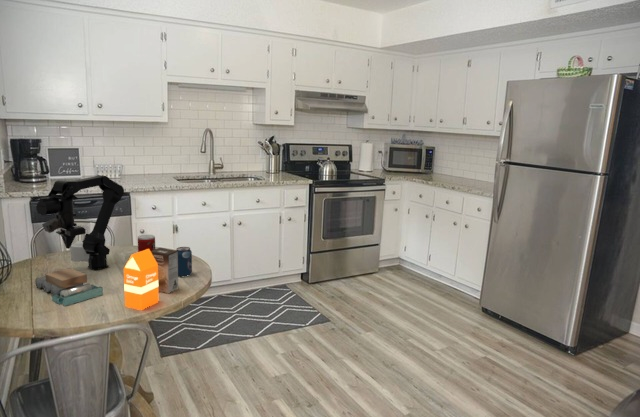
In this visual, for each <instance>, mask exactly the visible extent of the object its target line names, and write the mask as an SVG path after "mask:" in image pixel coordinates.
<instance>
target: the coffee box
mask: <svg viewBox="0 0 640 417" xmlns="http://www.w3.org/2000/svg"><path fill="white" fill-rule="evenodd" d="M151 253H152V255H153V257H154V259H155V260H156V262H157V264H158V285H159V287H158V291H160V292H159V293H163V292H165V293H164V294H168V293H169V294H170V292H171V291H173V290H175V289H176V290H178V289H179V276H178V251H176V249H170V248H166V247H165V248H164V247H158V248H155V250H152V251H151ZM177 288H178V289H177ZM176 290H175V291H176ZM173 292H174V291H173ZM171 293H172V292H171Z"/></svg>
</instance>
